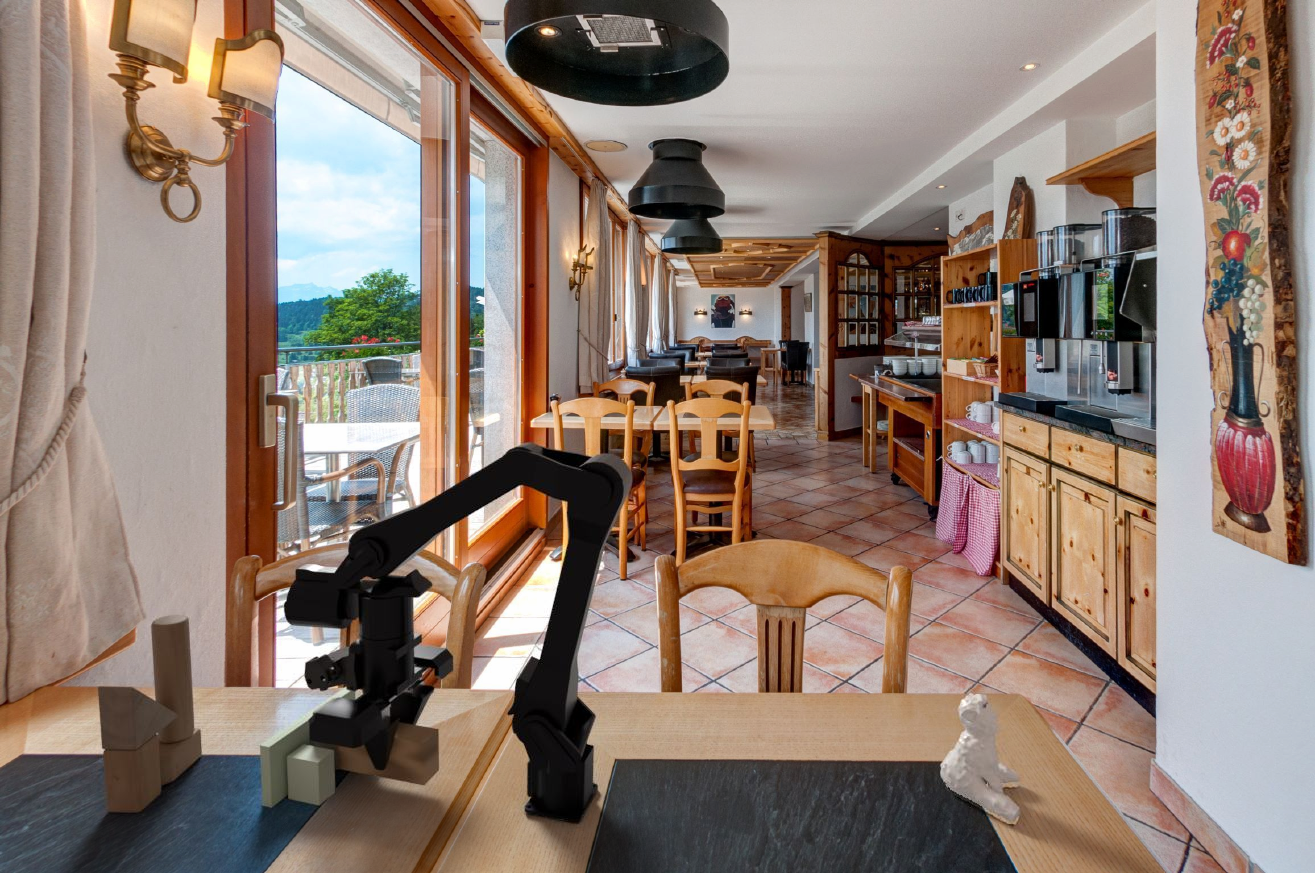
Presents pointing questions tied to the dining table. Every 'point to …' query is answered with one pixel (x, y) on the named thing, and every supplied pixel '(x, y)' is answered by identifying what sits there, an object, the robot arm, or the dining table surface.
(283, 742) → the pale green slab
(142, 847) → the dining table surface
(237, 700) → the dining table surface
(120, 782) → the wooden block
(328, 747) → the hammer
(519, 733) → the robot arm
